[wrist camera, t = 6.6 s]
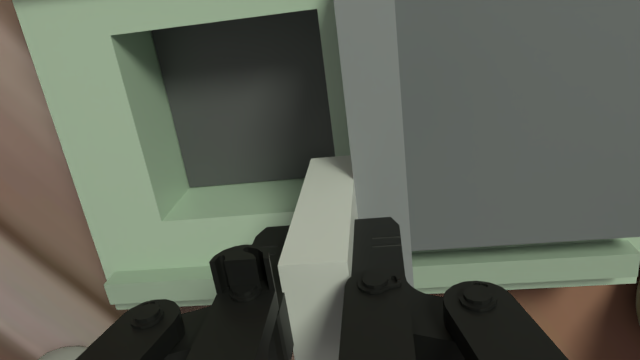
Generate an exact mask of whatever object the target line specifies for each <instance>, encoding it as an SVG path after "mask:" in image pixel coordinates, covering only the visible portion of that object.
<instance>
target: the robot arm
mask: <svg viewBox="0 0 640 360" xmlns="http://www.w3.org/2000/svg"><path fill="white" fill-rule="evenodd" d="M209 264H210V268H211V272H212V276H213V280H214V285H215V289H216V293H217V295H216V297H215V299H214V301H213V303H212V305H211V306H209V307H206V308H203V309H200V310H196V311H192V312H188V313H184V314H181V312H180V308H179V306H178V305H177V304H176V303H175V302H174V301H171V300H167V299H156V300H150V301H146V302H143V303H141V304H139V305H137V306H135V307H133V308H131V309H130V310H129V311H127V312H126V313H124V314H123V315H122V316H121V317H120V318H119V319H118V320H117V321H116V322H115V323H114V324H112V325H111V326H110V327H109V328H108V329H107V330H106V331H105V332H104V333H103V334H102V335H101V336H100V337H99V338H98V339H97V340H96V341H94V342H93V343H92V344H91V345H90V346H89V347H88V348H87V349H86V350H85V351H84V352H83V353H82V354H81V355H80V356H79V357H78V358H76V359H75V360H291V357H292V352H293V353H294V358H295V360H568V358H567V357H566V356H565V355H564V354H563V353H562V352H561V351H560V349H559V348H558V347H557V346H556V345H555V344H554V343H553V341H552V340H551V339H550V338H549V337H548V336H547V335H546V333H545V332H544V331H543V330H542V329H541V328H540V327H539V326H538V324H537V323H536V322H535V321H534V320H533V319H532V318H531V316H530V315H529V314H528V313H527V312H526V311H525V310H524V308H523V307H522V306H521V305H520V304H519V303H518V302H517V300H516V299H515V298H514V297H513V296H512V295H511V294H510V293H509V292H508V291H506V290H505V289H504V288H503V287H501V286H498V285H496V284H493V283H490V282H484V281H464V282H461V283H458V284H455V285H453V286H452V287H450V288H449V289H448V290H446V292H445V294H444V297H439V296H433V295H429V294H425V293H423V292H420V291H418V290H416V289H415V288H413V287H412V286H411V285H410V284H409V283H408V282H407V280H406V277H405V269H404V261H403V252H402V244H401V235H400V226H399V224H398V223H397V222H396V221H395V220H394V219H393V218H391V217H380V218H367V219H358V214H357V205H356V195H355V186H354V179H353V171H352V162H351V155H346V156H335V157H323V158H312V159H311V160H310V163H309V167H308V170H307V173H306V176H305V179H304V183H303V186H302V189H301V192H300V195H299V199H298V202H297V205H296V208H295V211H294V215H293V218H292V221H291V224H290V225H287V226H273V227H266V228H265V229H264V230H262V231H261V232H260V233H259V234H258V235H257V236H256V237H255V239H254V241H253V244H252V245H248V244H245V245H239V246H234V247H231V248H228V249H225V250H223V251H221V252H220V253H218V254H216V255H215V256H214V257H213V258H212V259H211V260H210V261H209Z"/></svg>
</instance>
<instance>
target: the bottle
mask: <svg viewBox="0 0 640 360" xmlns="http://www.w3.org/2000/svg"><path fill="white" fill-rule="evenodd" d="M636 312H637V316H638V322H639V325H640V280H639V283H638V287H637V293H636Z"/></svg>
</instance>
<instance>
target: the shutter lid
mask: <svg viewBox="0 0 640 360" xmlns="http://www.w3.org/2000/svg"><path fill="white" fill-rule="evenodd" d="M334 9H335V18H336V27H337V36H338V45H339V54H340V63H341V72H342V81H343V90H344V99H345V108H346V117H347V126H348V135H349V144H350V153H351V162H352V171H353V179H354V186H355V195H356V205H357V214H358V219H367V218H380V217H391V218H393V219H394V220H395V221H396V222H397V223H398V224H399V226H400V235H401V244H402V252H403V261H404V269H405V277H406V280H407V282H408V283H409V284H410V285H411V286H412V287H413V288H414V280H413V266H412V251H421V250H437V249H453V248H469V247H485V246H501V245H517V244H533V243H549V242H565V241H581V240H597V239H614V238H630V237H640V0H334Z"/></svg>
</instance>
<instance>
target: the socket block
mask: <svg viewBox="0 0 640 360" xmlns="http://www.w3.org/2000/svg"><path fill="white" fill-rule="evenodd" d="M12 1H13V4H14V7H15V10H16V13H17V16H18V19H19V22H20V25H21V28H22V31H23V34H24V37H25V40H26V43H27V46H28V49H29V51H30V54H31V57H32V60H33V63H34V66H35V69H36V72H37V75H38V78H39V81H40V84H41V87H42V90H43V93H44V96H45V99H46V102H47V105H48V108H49V111H50V114H51V116H52V119H53V122H54V125H55V128H56V131H57V134H58V137H59V140H60V143H61V146H62V149H63V152H64V155H65V158H66V161H67V164H68V167H69V170H70V173H71V176H72V179H73V182H74V184H75V187H76V190H77V193H78V196H79V199H80V202H81V205H82V208H83V211H84V214H85V217H86V220H87V223H88V226H89V229H90V232H91V235H92V238H93V241H94V244H95V247H96V250H97V252H98V255H99V258H100V261H101V264H102V267H103V270H104V273H105V276H106V279H107V282H106V283H105V284H104V287H105V290H106V293H107V296H108V299H109V302H110V305H112V304H115V306H116V309H117V310H122V309H131V308H133V307H135V306H137V305H139V304H141V303H143V302H146V301H150V300H156V299H167V300H171V301H174V302H175V303H176V304H177V305H178V306H179V307H181V306H201V305H212V303H213V301H214V299H215V297H216V295H217V293H216V289H215V285H214V280H213V276H212V272H211V268H210V264H209V261H210V260H211V259H212V258H213V257H214V256H215V255H216V254H218V253H220V252H221V251H223V250H225V249H228V248H231V247H234V246H239V245H245V244H248V245H252V244H253V241H254V239H255V237H256V236H257V235H258V234H259V233H260V232H261V231H262V230H264V229H265V228H266V227H273V226H287V225H290V224H291V221H292V218H293V215H294V211H295V208H296V205H297V202H298V199H299V195H300V192H301V189H302V186H303V183H304V179H305V176H306V173H307V170H308V167H309V163H310V160H311V159H312V158H323V157H335V156H346V155H351V153H350V144H349V135H348V126H347V117H346V108H345V99H344V90H343V81H342V72H341V63H340V54H339V45H338V36H337V27H336V18H335V9H334V0H12ZM639 263H640V237H630V238H614V239H597V240H581V241H565V242H549V243H533V244H517V245H501V246H485V247H469V248H453V249H437V250H421V251H412V266H413V280H414V288H415V289H416V290H418V291H420V292H423V293H425V294H436V293H445V292H446V290H448V289H449V288H450V287H452V286H453V285H455V284H458V283H461V282H464V281H484V282H490V283H493V284H496V285H498V286H501V287H503V288H504V289H505V290H515V289H534V288H554V287H574V286H593V285H613V284H633V283H636V281H637V277H638V271H639Z"/></svg>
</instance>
